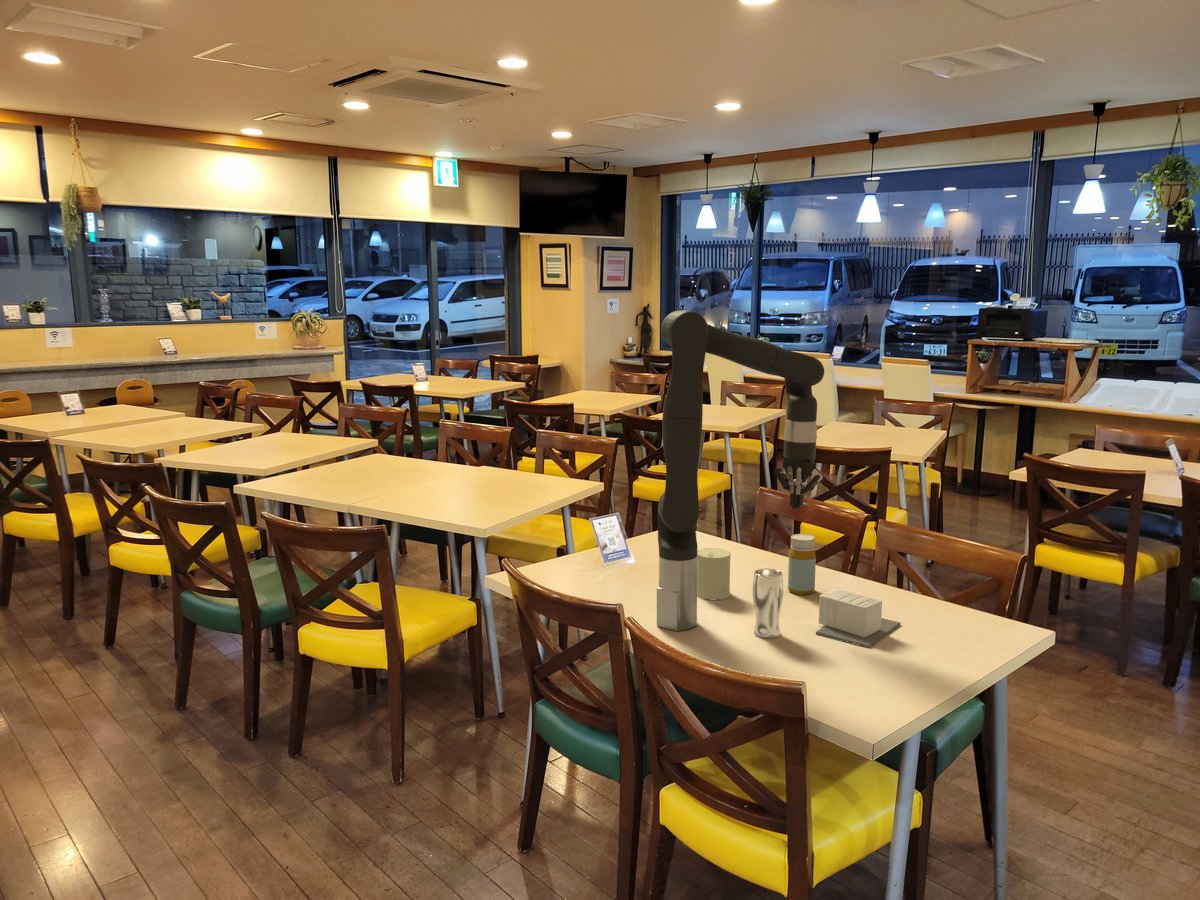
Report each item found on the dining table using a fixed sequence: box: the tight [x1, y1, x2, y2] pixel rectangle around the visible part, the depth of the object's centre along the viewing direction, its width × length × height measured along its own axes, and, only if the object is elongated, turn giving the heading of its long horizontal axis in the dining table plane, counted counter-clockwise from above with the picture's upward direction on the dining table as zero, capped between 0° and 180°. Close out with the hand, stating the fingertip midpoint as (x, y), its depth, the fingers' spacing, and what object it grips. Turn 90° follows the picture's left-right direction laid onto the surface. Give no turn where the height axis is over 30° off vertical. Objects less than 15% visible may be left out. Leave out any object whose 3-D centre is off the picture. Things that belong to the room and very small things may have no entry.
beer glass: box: [752, 567, 784, 640], centre depth 205 cm, size 7×7×15 cm
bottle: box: [787, 533, 817, 596], centre depth 234 cm, size 7×7×15 cm
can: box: [697, 547, 731, 601], centre depth 232 cm, size 9×9×12 cm
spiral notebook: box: [815, 617, 901, 648], centre depth 208 cm, size 18×13×1 cm
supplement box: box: [818, 588, 883, 638], centre depth 208 cm, size 7×7×13 cm
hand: (796, 508), depth 214 cm, fingers closed
